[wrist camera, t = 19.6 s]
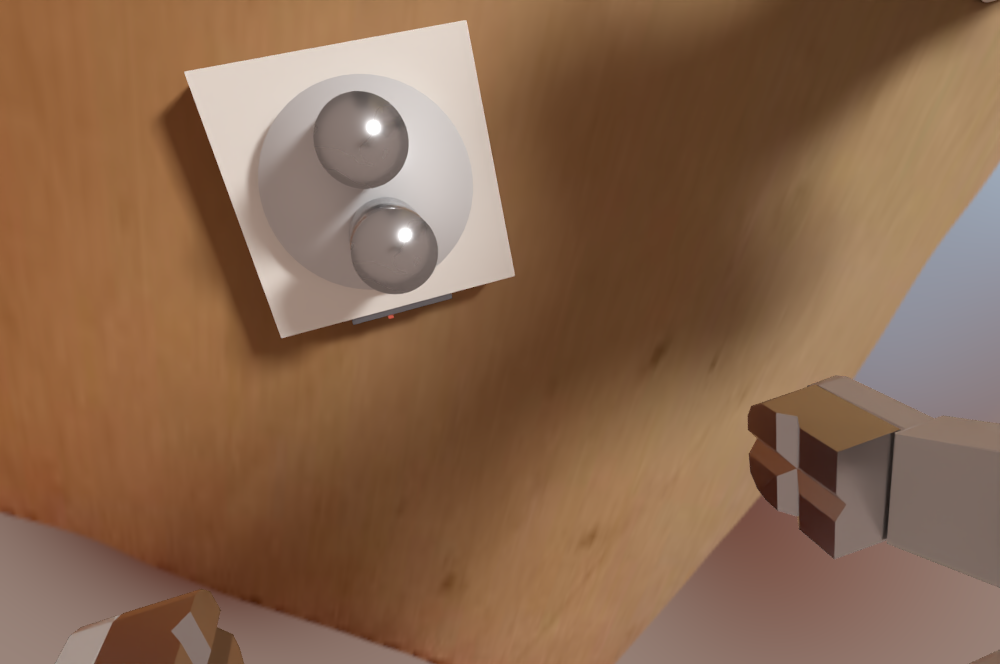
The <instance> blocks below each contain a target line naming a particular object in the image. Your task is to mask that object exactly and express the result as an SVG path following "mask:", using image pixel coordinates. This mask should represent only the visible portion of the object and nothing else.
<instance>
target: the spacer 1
mask: <svg viewBox="0 0 1000 664" xmlns="http://www.w3.org/2000/svg"><path fill="white" fill-rule="evenodd" d="M313 140H314V147H315V151H316V154H317V157H318V159H319V161H320V163H321V164H322V166H323V167H324V169H325V170H326V171H327V172H328V173H329V174H330V175H331V176H332V177H333V178H335V179H336V180H337V181H339V182H341V183H342V184H345V185H347V186H350V187H353V188H359V189H370V188H375V187H379V186H382V185H384V184H386V183H387V182H389V181H390V180H392V179H393V178H394V177H395V176H396V175H397V174H398V173H399V172H400V170H401V169H402V167H403V165H404V163H405V161H406V158H407V154H408V148H409V139H408V132H407V129H406V126H405V123H404V121H403V119H402V117H401V115H400V114H399V113H398V111H397V110H396V109H395V108H394V107H393V106H392V105H391V104H390V103H389V102H388V101H386V100H385V99H383V98H382V97H380V96H378V95H375V94H372V93H369V92H364V91H351V92H346V93H343V94H340V95H338V96H336V97H334V98H333V99H332V100H330V101H329V102H328V103H327V104H326V105H325V106H324V107H323V108H322V110H321V111H320V113H319V115H318V117H317V119H316V122H315V126H314V133H313Z"/></svg>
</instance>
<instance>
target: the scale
mask: <svg viewBox="0 0 1000 664" xmlns="http://www.w3.org/2000/svg"><path fill="white" fill-rule="evenodd" d="M184 73H185V76H186V79H187V81H188V84H189V87H190V90H191V92H192V95H193V98H194V101H195V103H196V106H197V109H198V112H199V114H200V117H201V120H202V122H203V125H204V128H205V131H206V133H207V136H208V139H209V142H210V144H211V147H212V150H213V153H214V155H215V158H216V161H217V164H218V166H219V169H220V172H221V175H222V177H223V180H224V183H225V185H226V188H227V191H228V194H229V196H230V199H231V202H232V205H233V207H234V210H235V213H236V216H237V218H238V221H239V224H240V227H241V229H242V232H243V235H244V237H245V240H246V243H247V246H248V248H249V251H250V254H251V257H252V259H253V262H254V265H255V268H256V270H257V273H258V276H259V279H260V281H261V284H262V287H263V289H264V292H265V295H266V298H267V300H268V303H269V306H270V309H271V311H272V314H273V317H274V320H275V322H276V325H277V328H278V331H279V333H280V336H281V338H285V337H288V336H292V335H296V334H300V333H303V332H307V331H311V330H315V329H318V328H322V327H326V326H330V325H333V324H337V323H341V322H345V321H348V320H352V322H353V325H355V324H359V323H362V322H366V321H370V320H373V319H377V318H381V317H385V316H388V317H389V319H391V318H394V316H393V314H396V313H399V312H403V311H407V310H411V309H414V308H418V307H422V306H426V305H429V304H433V303H437V302H440V301H444V300H448V299H452V294H451V293H453V292H457V291H461V290H464V289H468V288H472V287H476V286H479V285H483V284H487V283H491V282H494V281H498V280H502V279H506V278H509V277H513V276H515V273H514V268H513V263H512V257H511V252H510V247H509V241H508V236H507V231H506V226H505V220H504V215H503V210H502V205H501V199H500V194H499V189H498V184H497V178H496V173H495V168H494V163H493V157H492V152H491V147H490V142H489V136H488V131H487V126H486V121H485V115H484V110H483V105H482V100H481V94H480V89H479V84H478V79H477V73H476V68H475V63H474V57H473V52H472V47H471V42H470V36H469V31H468V26H467V21H466V20H464V21H458V22H453V23H447V24H442V25H436V26H431V27H426V28H420V29H415V30H409V31H404V32H398V33H393V34H387V35H382V36H376V37H371V38H366V39H360V40H355V41H349V42H344V43H338V44H333V45H327V46H322V47H316V48H311V49H305V50H300V51H295V52H289V53H284V54H278V55H273V56H267V57H262V58H256V59H251V60H245V61H240V62H235V63H229V64H224V65H218V66H213V67H207V68H202V69H196V70H191V71H185V72H184ZM351 91H364V92H369V93H372V94H375V95H378V96H380V97H382V98H383V99H385V100H386V101H388V102H389V103H390V104H391V105H392V106H393V107H394V108H395V109H396V110H397V111H398V113H399V114H400V115H401V117H402V119H403V121H404V123H405V126H406V129H407V132H408V139H409V148H408V154H407V158H406V161H405V163H404V165H403V167H402V169H401V170H400V172H399V173H398V174H397V175H396V176H395V177H394V178H393V179H392V180H390V181H389V182H387V183H386V184H384V185H382V186H379V187H375V188H370V189H359V188H353V187H350V186H347V185H345V184H342V183H341V182H339V181H337V180H336V179H335V178H333V177H332V176H331V175H330V174H329V173H328V172H327V171H326V170H325V169H324V167H323V166H322V164H321V163H320V161H319V159H318V157H317V154H316V151H315V147H314V140H313V133H314V126H315V122H316V119H317V117H318V115H319V113H320V111H321V110H322V108H323V107H324V106H325V105H326V104H327V103H328V102H329V101H330V100H332V99H333V98H334V97H336V96H338V95H340V94H343V93H346V92H351ZM380 197H391V198H396V199H399V200H402V201H403V202H405V203H407V204H408V205H410V206H411V207H412V208H413V209H414V210H415V211H416V212H417V213H418V214H419V215H420V216H421V217H422V219H423V220H424V221H425V222H426V223H427V224H428V225H429V226H430V228H431V229H432V231H433V233H434V235H435V237H436V240H437V245H438V259H437V264H436V266H435V269H434V271H433V273H432V275H431V276H430V277H429V279H428V280H427V281H426V282H425V283H424V284H423V285H421V286H420V287H418V288H417V289H415V290H413V291H410V292H408V293H403V294H386V293H382V292H379V291H377V290H375V289H373V288H371V287H369V286H368V285H367V284H366V283H364V282H363V280H362V279H361V278H360V277H359V276H358V274H357V272H356V271H355V269H354V266H353V263H352V259H351V250H350V240H349V227H350V223H351V220H352V218H353V216H354V214H355V213H356V211H357V210H358V209H359V208H360V207H361V206H362V205H363V204H365V203H366V202H368V201H370V200H372V199H376V198H380Z"/></svg>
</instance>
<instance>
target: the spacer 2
mask: <svg viewBox="0 0 1000 664" xmlns="http://www.w3.org/2000/svg"><path fill="white" fill-rule="evenodd" d="M349 240H350V250H351V259H352V263H353V266H354V269H355V271H356V272H357V274H358V276H359V277H360V278H361V279H362V280H363V282H364V283H366V284H367V285H368V286H369V287H371V288H373V289H375V290H377V291H379V292H382V293H386V294H403V293H408V292H410V291H413V290H415V289H417V288H418V287H420V286H421V285H423V284H424V283H425V282H426V281H427V280H428V279H429V277H430V276H431V275H432V273H433V271H434V269H435V266H436V264H437V259H438V245H437V240H436V237H435V235H434V233H433V231H432V229H431V228H430V226H429V225H428V224H427V223H426V222H425V221H424V220H423V219H422V217H421V216H420V215H419V214H418V213H417V212H416V211H415V210H414V209H413V208H412V207H411V206H410V205H408V204H407V203H405V202H403V201H402V200H399V199H396V198H391V197H380V198H376V199H372V200H370V201H368V202H366V203H365V204H363V205H362V206H361V207H360V208H359V209H358V210H357V211H356V213H355V214H354V216H353V218H352V220H351V223H350V227H349Z"/></svg>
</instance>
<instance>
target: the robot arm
mask: <svg viewBox="0 0 1000 664" xmlns="http://www.w3.org/2000/svg"><path fill="white" fill-rule="evenodd" d="M982 1H983V2H992V1H995V0H982ZM748 430H749V431H750V432H751V433H752V434H753V435H754V436H755V437H756V438H757V440H756V442H755V443H754V445H753V447H752V449H751V451H750V453H749V461H750V472H751V475H752V477H753V479H754V482H755V484H756V487H757V489H758V490H759V491H760V493H761V494H762V496H763V497H764V498H765V500H766V501H767V502H769V503H770V504H771V505H772V506H773V507H774V508H775V509H776V510H777V511H781V512H784V513H787V514H791V515H794V516H797V518H798V524H799V530H801V531H802V532H803V533H804V534H805V535H807V536H808V537H809V538H810V539H811V540H812V541H814V542H815V543H816V544H817V545H818V546H819V547H821V548H822V549H823V550H824V551H825V552H826V553H827V554H829V555H830V556H831V557H832V558H833V559H836V558H839V557H842V556H844V555H847V554H850V553H853V552H856V551H859V550H862V549H864V548H867V547H870V546H872V545H875V544H878V543H881V542H883V541H886V540H887V544H889V545H892V546H894V547H897V548H899V549H902V550H905V551H907V552H909V553H912V554H915V555H917V556H920V557H922V558H925V559H927V560H930V561H932V562H935V563H938V564H940V565H943V566H945V567H948V568H950V569H953V570H956V571H958V572H961V573H963V574H966V575H968V576H971V577H973V578H976V579H979V580H981V581H984V582H986V583H989V584H991V585H994V586H997V587H999V588H1000V424H998V423H990V422H984V421H977V420H970V419H963V418H956V417H950V416H941V417H938V418H935V419H934V418H932V417H930V416H928V415H926V414H923V413H921V412H919V411H918V410H915V409H913V408H911V407H909V406H907V405H905V404H903V403H901V402H899V401H897V400H895V399H892V398H890V397H888V396H886V395H884V394H882V393H880V392H878V391H876V390H874V389H872V388H869V387H867V386H865V385H863V384H861V383H859V382H857V381H855V380H853V379H851V378H849V377H846V376H833V377H830V378H827V379H824V380H822V381H819V382H816V383H813V384H811V385H808V386H807V387H806V388H803V389H800V390H797V391H794V392H791V393H788V394H785V395H782V396H779V397H776V398H773V399H770V400H767V401H765V402H762V403H759V404H756V405H753V406H751V408H750V411H749V414H748ZM220 611H221V610H220V608H219V606H218V604H217V603H216V601H215V599H214V597H213V596H212V594H211V592H210V591H207V590H204V589H200V590H196V591H193V592H190V593H187V594H184V595H180V596H177V597H174V598H171V599H167V600H164V601H161V602H158V603H155V604H151V605H148V606H145V607H142V608H139V609H135V610H132V611H129V612H126V613H123V614H122V615H118V616H114V617H111V618H108V619H105V620H102V621H99V622H96V623H92V624H89V625H87V626H83V627H81V628H79V629H78V630H77V631H75V632H74V633H73V634H71V635H70V636H69V638H68V640H67V642H66V644H65V645H64V647H63V649H62V651H61V653H60V655H59V657H58V659H57V661H56V662H55V664H244V662H243V658H242V655H241V651H240V648H239V646H238V644H237V642H236V640H235V638H234V635H233V634H231V633H229V632H226V631H224V630H222V629H219V628H217V623H218V619H219V615H220ZM969 664H1000V650H998V651H996V652H993V653H991V654H989V655H987V656H985V657H982V658H980V659H978V660H976V661H974V662H972V663H969Z"/></svg>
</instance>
